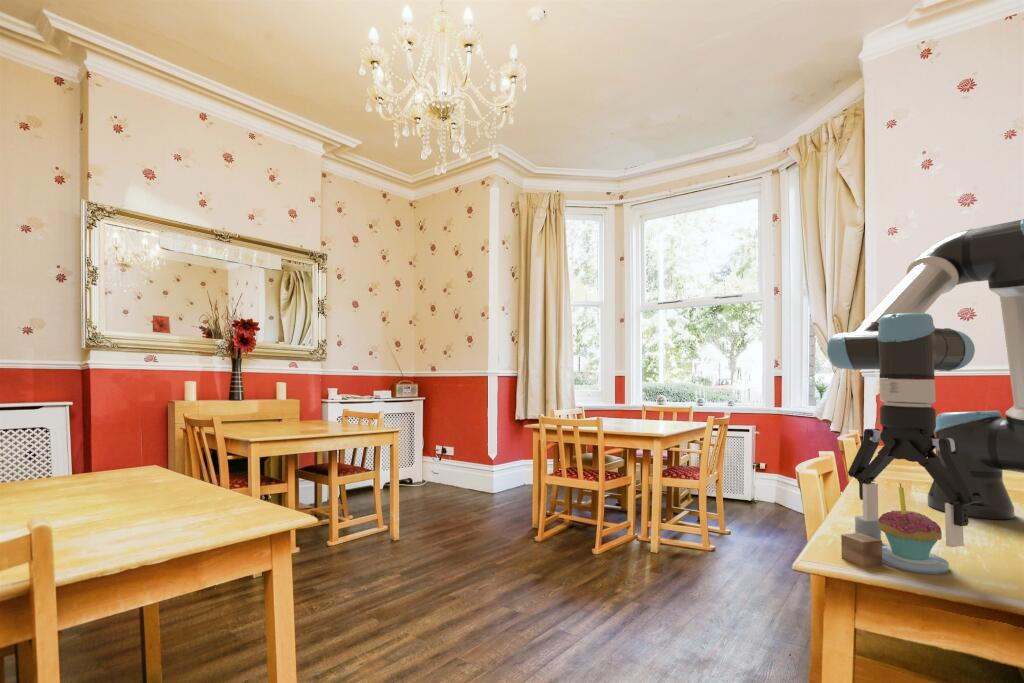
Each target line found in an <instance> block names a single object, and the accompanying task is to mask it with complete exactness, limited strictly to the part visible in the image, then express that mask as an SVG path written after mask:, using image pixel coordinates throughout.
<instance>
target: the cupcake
mask: <svg viewBox="0 0 1024 683" xmlns="http://www.w3.org/2000/svg"><path fill="white" fill-rule="evenodd" d="M898 484H899V487H898V493H899V503H900V510H891V511H887V512H884V513H882V514H881V516H879V517H878V521H879V528H880V530H881V532H882V533H883V534H885V536H886V539H887V541H888V544H889V546H890V547H891V550H892V552H893V553H894V554H896V555H898V556H901V557H904V558H908V559H914V560H926V559H928V557H929V554H931V551H932V548H934V546H935V545H936V543H937V542H938V541H940V540H942V539H943V533H942V528H941V526H940V525H939V524H938V523H937V522H936V521H934V520H932V519H931V518H929V517H928V516H926V515H924V514H921V513H919V512H916V511H910V510H907V508H906V507H907V506H906V498H905V491H904V490H905V489H904V488H905V487H902V483H901V482H899V483H898Z"/></svg>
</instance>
